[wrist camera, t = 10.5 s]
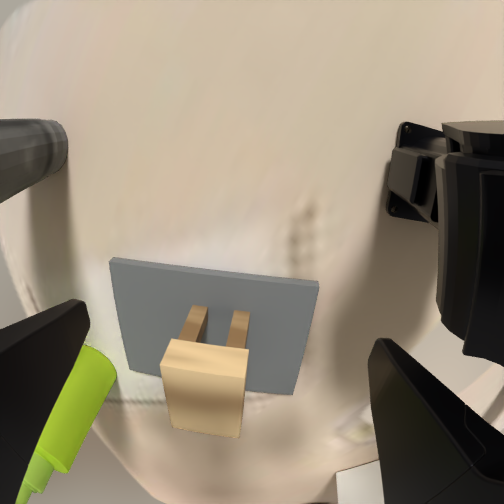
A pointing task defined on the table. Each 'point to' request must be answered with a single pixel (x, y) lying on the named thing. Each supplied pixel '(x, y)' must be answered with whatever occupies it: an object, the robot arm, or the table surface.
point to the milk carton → (360, 485)
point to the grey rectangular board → (214, 316)
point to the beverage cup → (29, 153)
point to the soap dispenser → (69, 420)
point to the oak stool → (206, 376)
